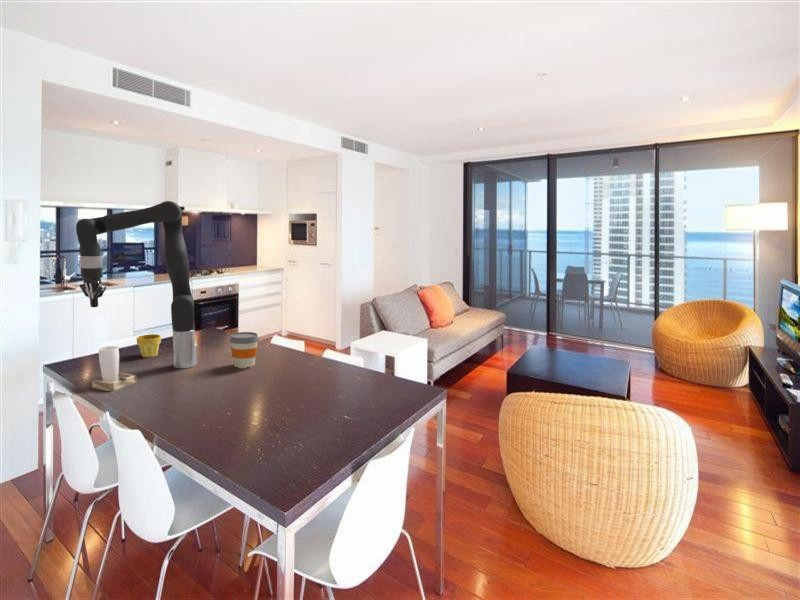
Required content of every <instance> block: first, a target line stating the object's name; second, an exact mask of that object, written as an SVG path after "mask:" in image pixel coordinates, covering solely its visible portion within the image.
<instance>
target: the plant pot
mask: <svg viewBox="0 0 800 600" xmlns="http://www.w3.org/2000/svg"><path fill="white" fill-rule="evenodd" d="M161 343H162V337H161V334H155V333H152V334H151V333H150V334H143V335H138V336H137V337H136V344H137V345H138V348H139V350H140V353H141V354H140V355H141V356H142V357H143V358H153V357H157V356H158V353H159V348H160V344H161Z"/></svg>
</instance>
